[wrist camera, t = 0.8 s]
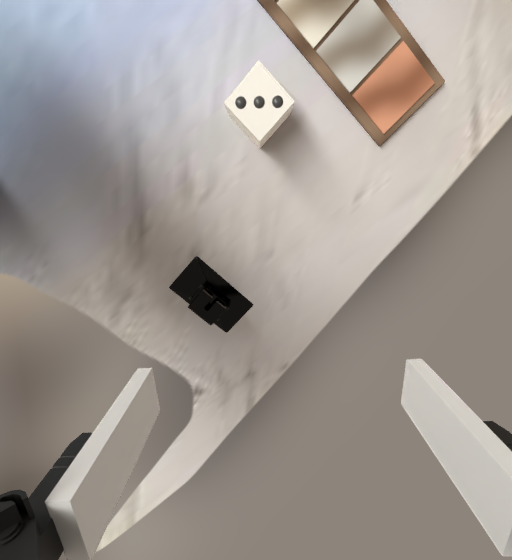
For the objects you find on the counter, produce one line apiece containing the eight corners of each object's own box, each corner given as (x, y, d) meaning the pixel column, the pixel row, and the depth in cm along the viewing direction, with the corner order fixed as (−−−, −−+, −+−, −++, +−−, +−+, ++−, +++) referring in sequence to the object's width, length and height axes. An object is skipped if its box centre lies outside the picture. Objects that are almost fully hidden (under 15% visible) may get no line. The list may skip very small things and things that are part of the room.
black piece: (264, 306, 40) (265, 320, 36) (229, 341, 42) (226, 359, 37) (193, 244, 38) (183, 251, 33) (159, 285, 40) (145, 297, 35)
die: (229, 116, 33) (223, 103, 28) (259, 80, 32) (258, 60, 27) (259, 148, 34) (259, 141, 29) (289, 114, 33) (294, 101, 28)
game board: (223, -41, 28) (222, -46, 28) (286, -130, 26) (287, -137, 26) (378, 146, 33) (380, 145, 33) (442, 82, 31) (446, 80, 31)
